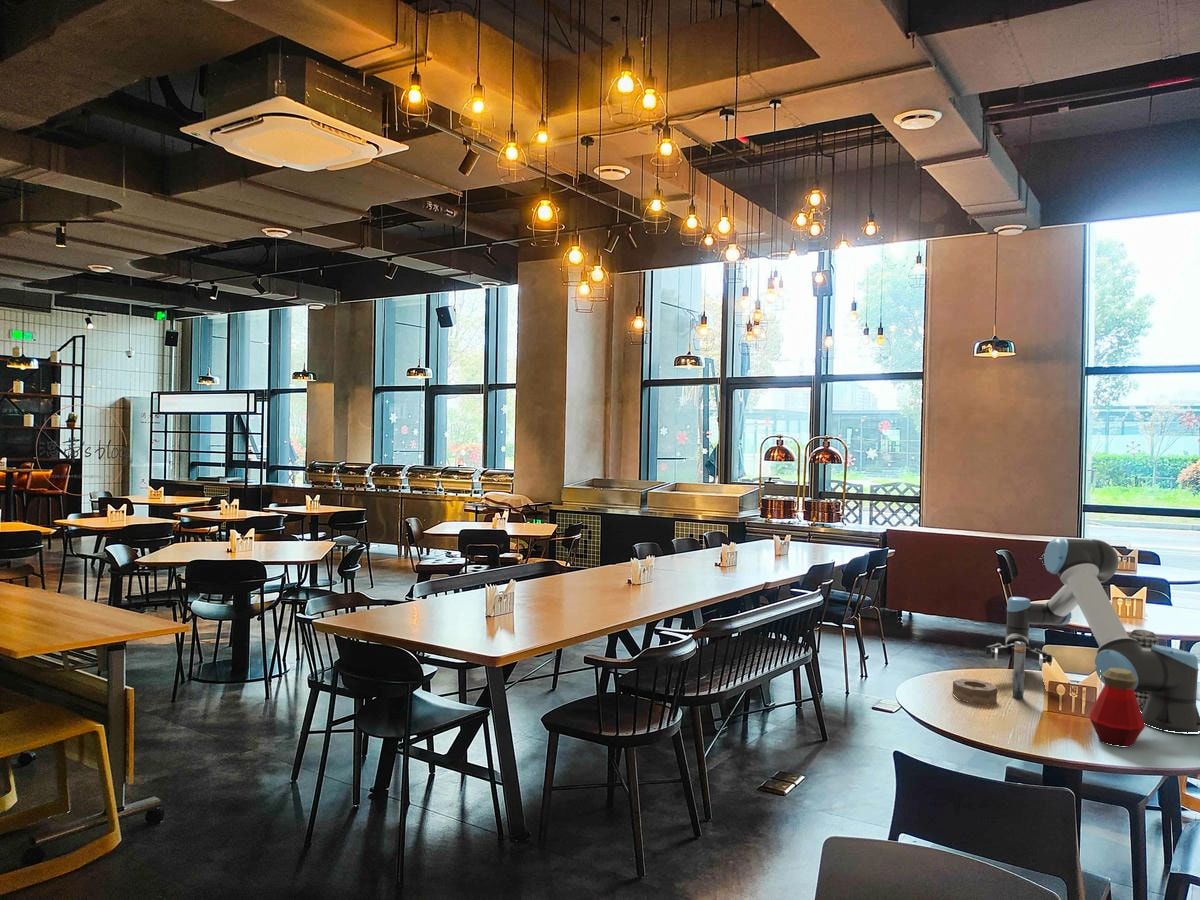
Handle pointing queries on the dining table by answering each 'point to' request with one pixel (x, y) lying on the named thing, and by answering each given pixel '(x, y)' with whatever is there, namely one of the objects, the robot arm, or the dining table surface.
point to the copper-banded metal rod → (1019, 670)
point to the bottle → (1117, 709)
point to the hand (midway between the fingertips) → (1018, 659)
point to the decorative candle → (1145, 642)
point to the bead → (975, 691)
